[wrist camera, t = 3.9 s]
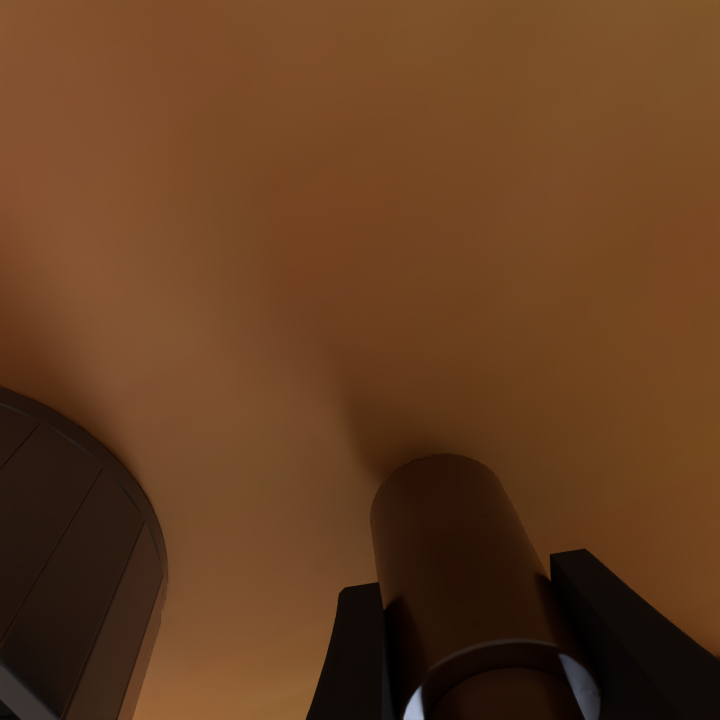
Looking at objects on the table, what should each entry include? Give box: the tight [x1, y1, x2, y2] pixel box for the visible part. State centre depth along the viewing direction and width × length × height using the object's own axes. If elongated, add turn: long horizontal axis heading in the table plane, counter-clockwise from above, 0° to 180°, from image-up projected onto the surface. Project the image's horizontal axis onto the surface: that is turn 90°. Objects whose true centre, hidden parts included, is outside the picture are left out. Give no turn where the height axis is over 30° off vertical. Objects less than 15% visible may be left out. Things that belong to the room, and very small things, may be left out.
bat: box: [370, 453, 603, 720], centre depth 10 cm, size 3×3×8 cm
